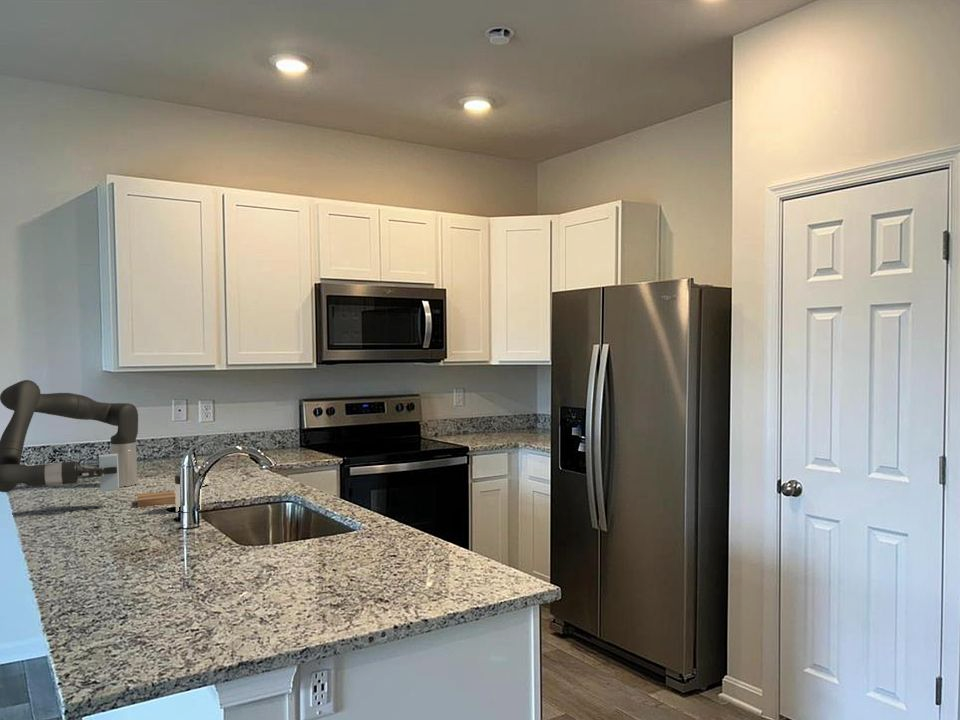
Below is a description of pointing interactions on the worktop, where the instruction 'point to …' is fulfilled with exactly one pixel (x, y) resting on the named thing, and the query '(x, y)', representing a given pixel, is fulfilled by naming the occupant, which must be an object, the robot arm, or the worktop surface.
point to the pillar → (109, 480)
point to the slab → (156, 498)
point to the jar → (177, 492)
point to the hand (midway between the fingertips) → (117, 468)
